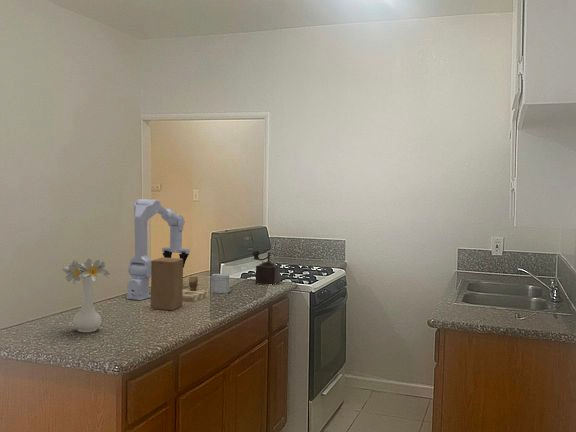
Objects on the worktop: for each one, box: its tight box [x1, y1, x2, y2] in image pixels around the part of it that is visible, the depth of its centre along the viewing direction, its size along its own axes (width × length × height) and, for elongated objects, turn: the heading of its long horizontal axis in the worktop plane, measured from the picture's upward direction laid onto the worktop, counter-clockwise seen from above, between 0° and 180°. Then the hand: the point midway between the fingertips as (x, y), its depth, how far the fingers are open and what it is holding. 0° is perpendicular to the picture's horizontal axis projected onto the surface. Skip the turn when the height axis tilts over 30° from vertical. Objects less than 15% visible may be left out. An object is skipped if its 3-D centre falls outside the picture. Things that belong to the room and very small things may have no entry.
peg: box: [188, 276, 199, 291], centre depth 260 cm, size 4×4×6 cm
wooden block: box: [150, 256, 184, 311], centre depth 235 cm, size 10×10×20 cm
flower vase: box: [62, 257, 110, 333], centre depth 195 cm, size 13×18×25 cm
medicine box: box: [210, 273, 230, 294], centre depth 270 cm, size 8×4×9 cm, turn 84°
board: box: [182, 288, 210, 303], centre depth 256 cm, size 14×12×2 cm
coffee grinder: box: [252, 249, 281, 286], centre depth 297 cm, size 16×11×18 cm
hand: (175, 267), depth 279 cm, fingers open, 7 cm apart
